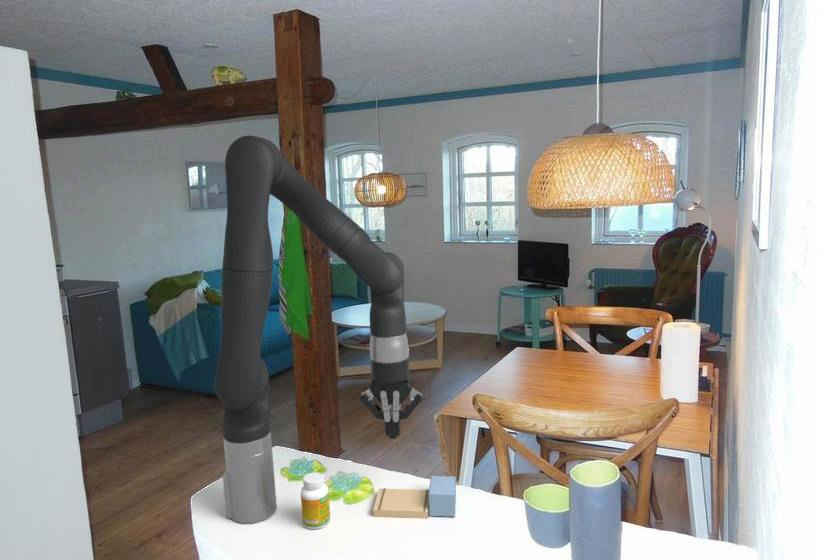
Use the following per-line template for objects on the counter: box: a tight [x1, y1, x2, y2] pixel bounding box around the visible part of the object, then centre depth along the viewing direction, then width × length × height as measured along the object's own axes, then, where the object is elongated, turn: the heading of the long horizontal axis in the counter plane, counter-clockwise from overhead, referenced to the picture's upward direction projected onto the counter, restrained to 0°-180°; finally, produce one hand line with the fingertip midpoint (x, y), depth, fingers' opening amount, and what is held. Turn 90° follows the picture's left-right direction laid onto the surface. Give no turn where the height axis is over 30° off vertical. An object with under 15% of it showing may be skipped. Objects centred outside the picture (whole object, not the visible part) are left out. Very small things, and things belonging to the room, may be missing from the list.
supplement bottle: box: [300, 471, 331, 530], centre depth 117 cm, size 5×5×10 cm
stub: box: [428, 475, 457, 518], centre depth 121 cm, size 5×7×5 cm
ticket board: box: [372, 487, 430, 519], centre depth 122 cm, size 11×8×2 cm
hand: (393, 437), depth 120 cm, fingers closed
